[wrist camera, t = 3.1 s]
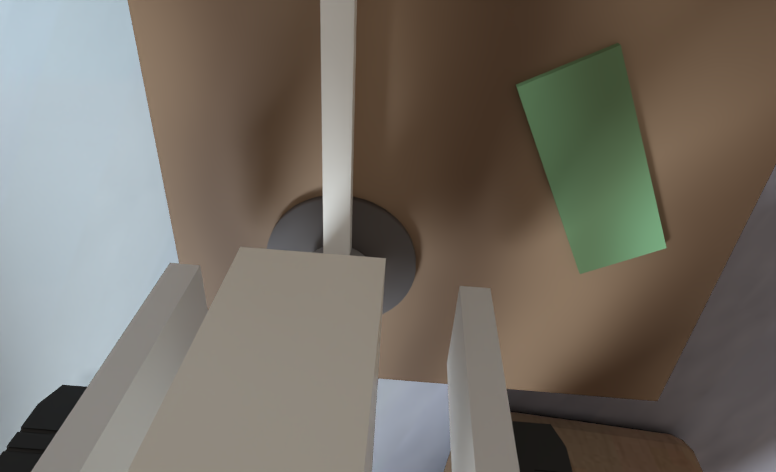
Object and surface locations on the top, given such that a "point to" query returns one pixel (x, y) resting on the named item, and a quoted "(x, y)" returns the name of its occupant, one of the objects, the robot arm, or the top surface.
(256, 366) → the cream block and rod
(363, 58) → the board
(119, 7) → the top surface
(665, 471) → the wooden block
